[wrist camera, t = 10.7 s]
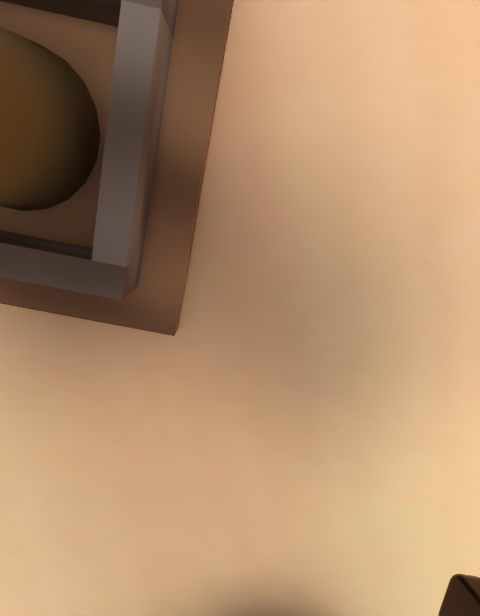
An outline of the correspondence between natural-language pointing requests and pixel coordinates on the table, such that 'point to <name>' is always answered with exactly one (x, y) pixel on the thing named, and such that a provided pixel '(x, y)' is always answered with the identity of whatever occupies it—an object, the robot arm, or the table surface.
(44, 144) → the cork
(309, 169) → the table surface
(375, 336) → the table surface
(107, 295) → the shaker holder
